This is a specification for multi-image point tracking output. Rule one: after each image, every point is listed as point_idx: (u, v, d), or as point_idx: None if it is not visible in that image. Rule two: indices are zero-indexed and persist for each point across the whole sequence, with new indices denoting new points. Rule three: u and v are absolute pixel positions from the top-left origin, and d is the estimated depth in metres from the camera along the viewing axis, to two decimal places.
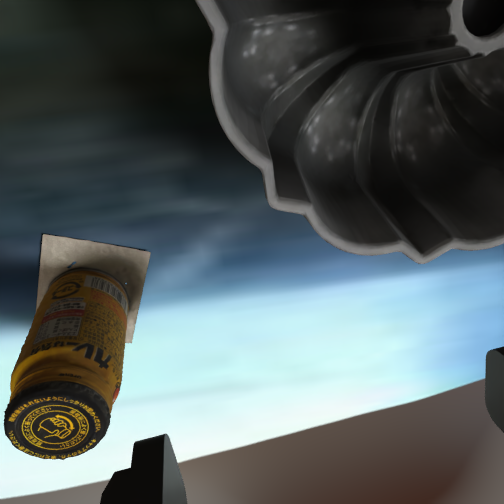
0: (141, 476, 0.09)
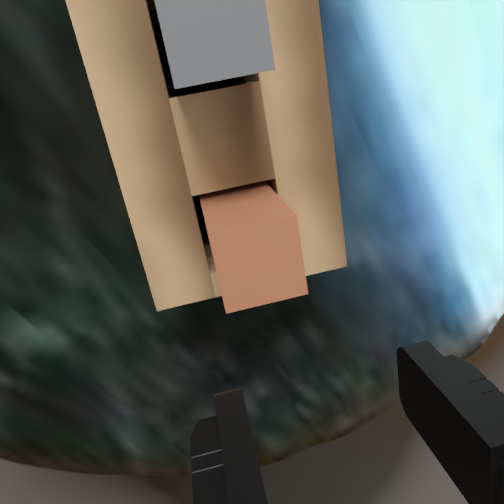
0: (228, 420, 0.10)
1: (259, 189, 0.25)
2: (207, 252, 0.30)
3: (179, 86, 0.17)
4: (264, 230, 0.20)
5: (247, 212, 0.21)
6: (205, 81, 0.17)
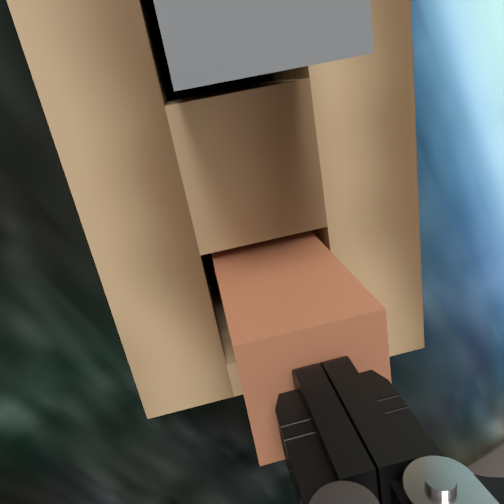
0: (313, 392, 0.10)
1: (301, 241, 0.17)
2: (220, 320, 0.21)
3: (183, 86, 0.08)
4: (329, 335, 0.11)
5: (293, 292, 0.13)
6: (236, 76, 0.08)
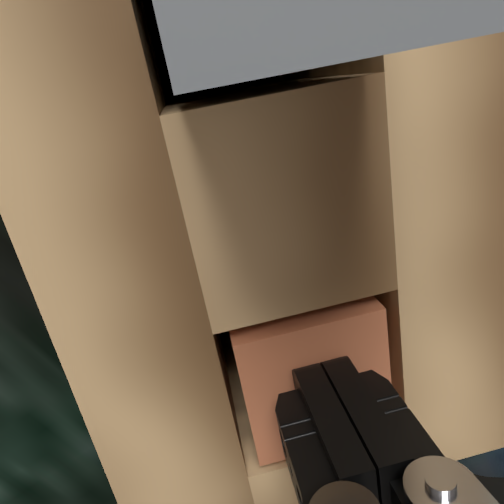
0: (314, 391, 0.10)
1: None
2: (235, 395, 0.16)
3: (199, 81, 0.03)
4: (329, 335, 0.11)
5: None
6: (332, 55, 0.03)
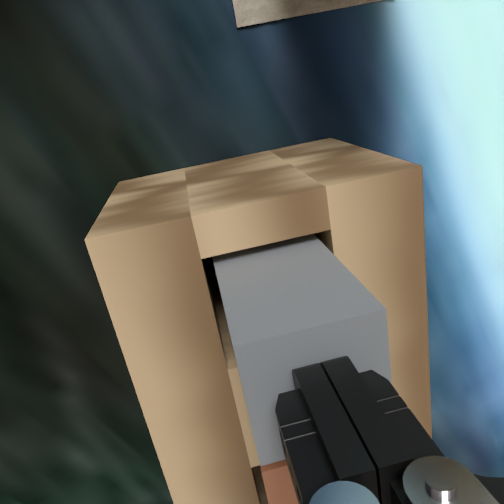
0: (313, 392, 0.10)
1: None
2: (257, 479, 0.24)
3: (267, 463, 0.12)
4: None
5: None
6: None
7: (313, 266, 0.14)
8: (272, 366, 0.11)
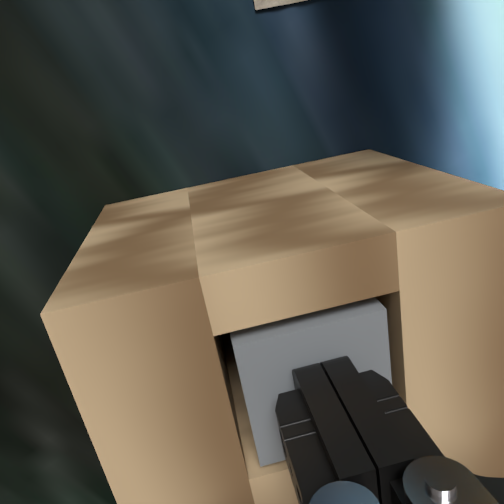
0: (313, 392, 0.10)
1: None
2: None
3: (267, 463, 0.12)
4: None
5: None
6: None
7: None
8: (272, 366, 0.11)
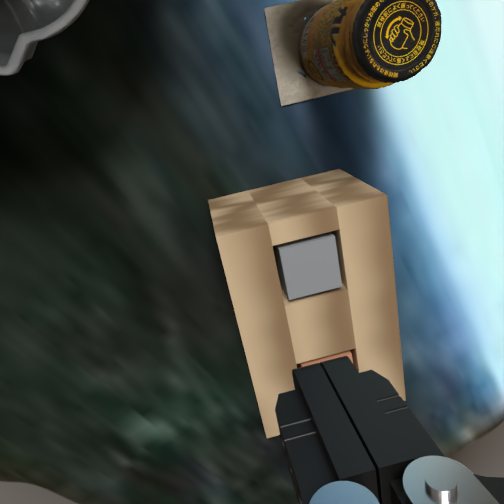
0: (314, 392, 0.10)
1: None
2: None
3: (291, 298, 0.32)
4: None
5: None
6: (305, 295, 0.32)
7: None
8: (293, 257, 0.31)
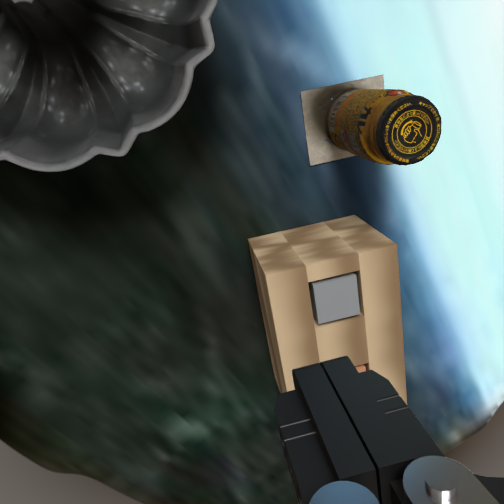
0: (314, 392, 0.10)
1: None
2: None
3: (320, 323, 0.41)
4: None
5: None
6: (331, 320, 0.41)
7: None
8: (323, 291, 0.40)
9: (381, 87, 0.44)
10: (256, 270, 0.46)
